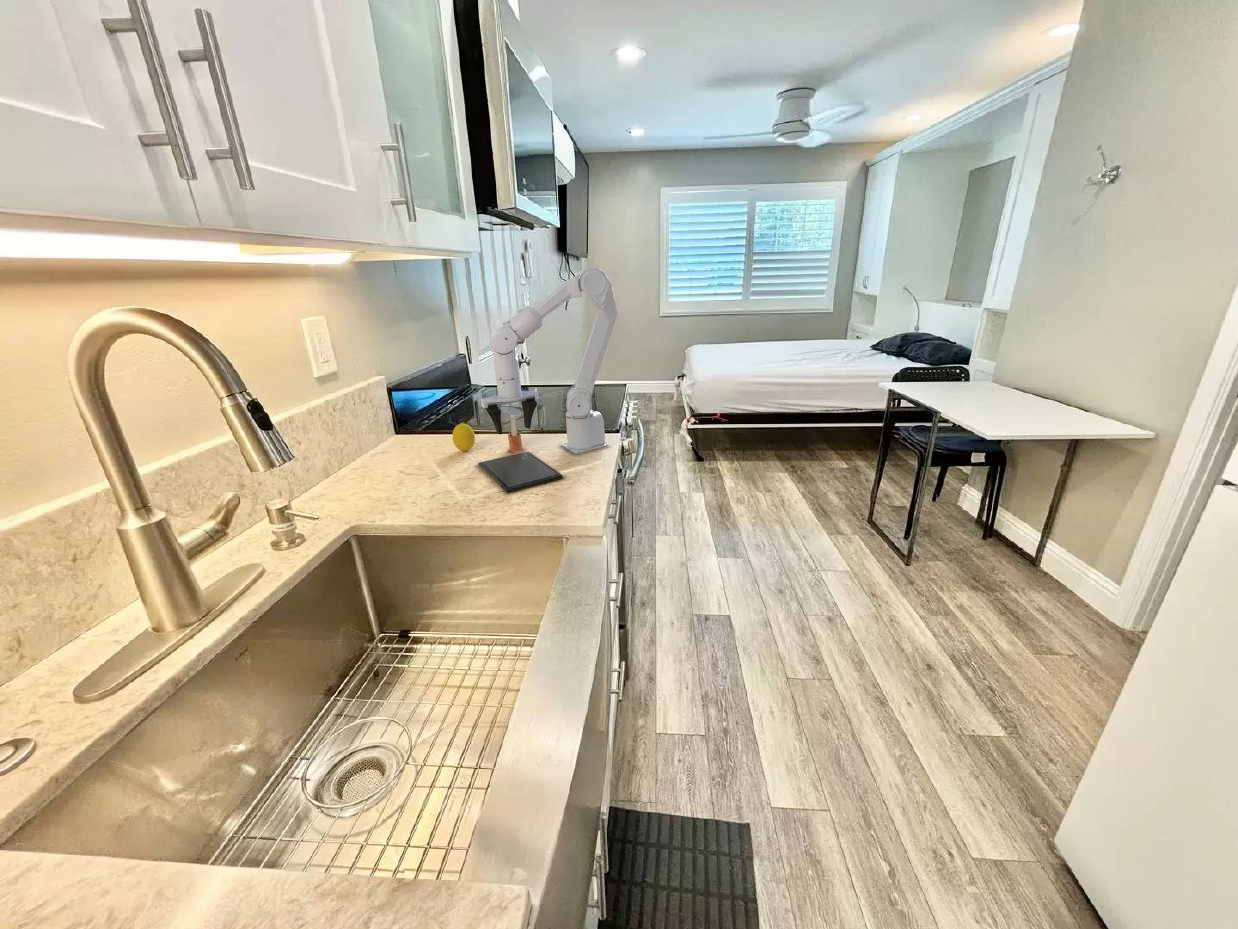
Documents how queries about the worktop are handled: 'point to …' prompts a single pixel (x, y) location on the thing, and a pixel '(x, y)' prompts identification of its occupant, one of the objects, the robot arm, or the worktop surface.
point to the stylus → (513, 425)
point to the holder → (515, 442)
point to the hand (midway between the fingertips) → (513, 430)
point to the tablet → (519, 471)
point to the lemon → (463, 437)
